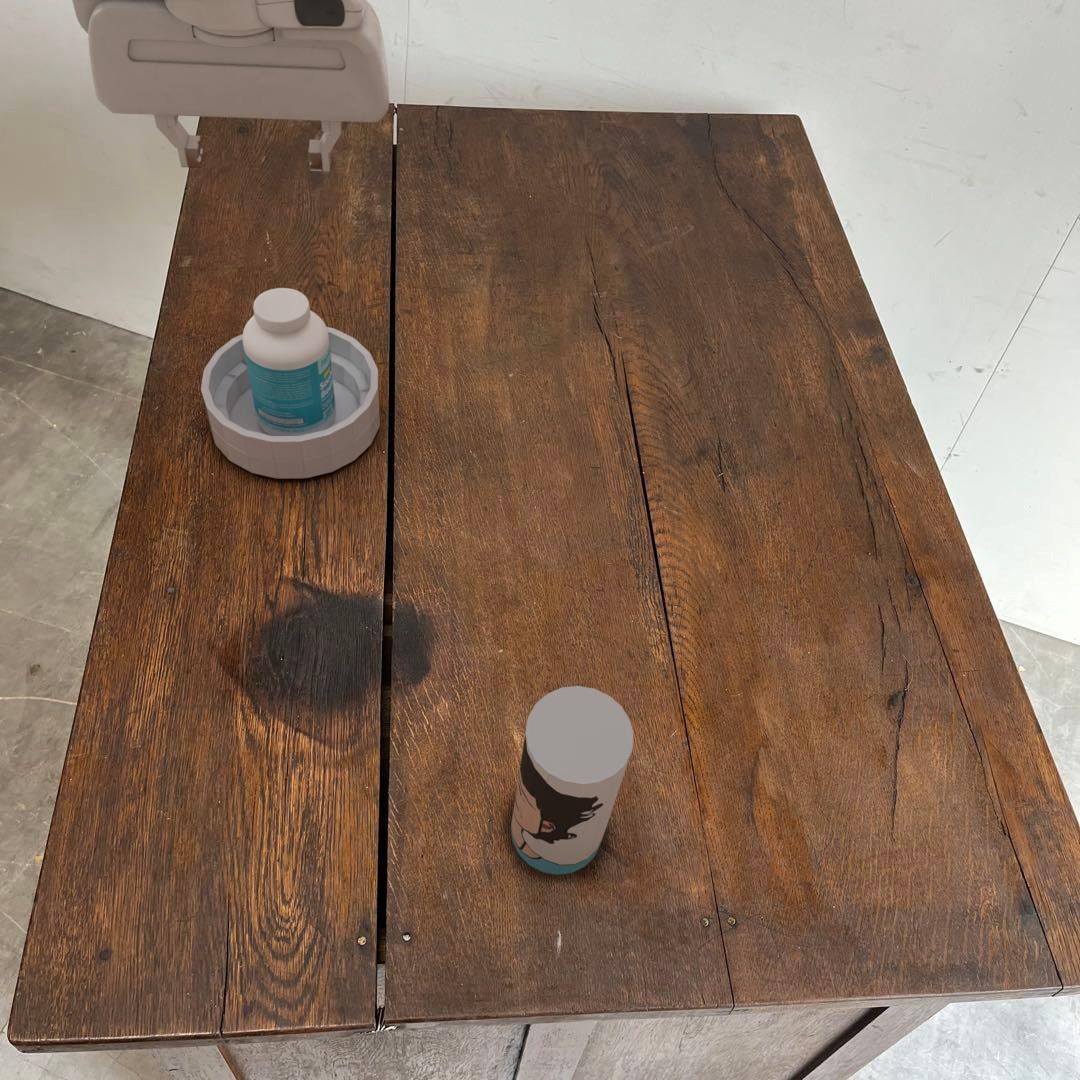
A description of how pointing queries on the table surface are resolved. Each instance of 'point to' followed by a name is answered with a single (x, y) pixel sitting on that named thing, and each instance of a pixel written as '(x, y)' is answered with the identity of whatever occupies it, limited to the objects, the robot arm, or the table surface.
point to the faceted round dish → (293, 454)
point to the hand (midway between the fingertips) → (257, 165)
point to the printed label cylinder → (569, 777)
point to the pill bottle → (289, 365)
